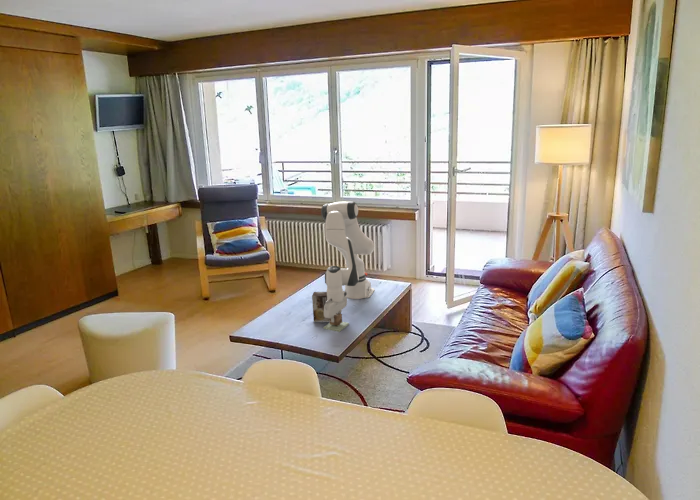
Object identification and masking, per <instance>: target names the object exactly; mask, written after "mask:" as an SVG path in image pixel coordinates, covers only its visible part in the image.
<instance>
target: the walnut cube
mask: <svg viewBox="0 0 700 500" xmlns="http://www.w3.org/2000/svg"><path fill="white" fill-rule="evenodd" d="M334 319H335V322H331V319H330V321H329V323H330V324H331V325H337V326H338V325H339V324H341V323H342V322H343V314H342V313H341V314H339V313H336V314H335V315H334Z"/></svg>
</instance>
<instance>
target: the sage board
mask: <svg viewBox="0 0 700 500" xmlns="http://www.w3.org/2000/svg"><path fill="white" fill-rule="evenodd" d="M349 325H350V322H347V321H342V323H341V324H339V325H338V326H337V325H331V324H330V322H327V324H326V325H324V326H323V330H326V331H333V332H337V333H339V332H341V331H343V330H344V329H345V328H347V327H348V326H349Z"/></svg>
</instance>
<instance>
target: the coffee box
mask: <svg viewBox="0 0 700 500" xmlns="http://www.w3.org/2000/svg"><path fill="white" fill-rule="evenodd" d="M311 301H312V316H313V322H314V323H330V318H325V317H324V305H325V304H326V302H327V301H328V300H327V291H313V293H312V295H311Z"/></svg>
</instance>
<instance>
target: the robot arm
mask: <svg viewBox="0 0 700 500" xmlns="http://www.w3.org/2000/svg"><path fill="white" fill-rule="evenodd" d="M320 215H321V218H322V219H323V220H324V221H325V224H324V226H325V227H324V228H325V229H324V231H325V232H324V234H325V235H324V236H325V240H326V242H327V243H328V244H329V245H330V246H332V247H334V248H336V249H337V251H338V252H339V253H341V255H342V257H343V258H344V260H345V264H346V267H344V268H343V267H340V266H338V265H331V266H329V267H328V268H327V267H326V268H327V269H326V271H325V273H324V284H325V285H326V292H327V300H328V301H327V302H326V304H325V305H324V317H325V318H330V319H331V322H335V319H334V315H335V314H336V313H339V314H342V311H343V309H345V308H346V307H347V305H348V299H353V300H359V299H360V300H361V299H367V298H370V297H371V296H372V294H374V292H375V288H374V287H372V284H371V282H370V280H368V279H367V278H366V277H367V276H368V272H365V262H364V261H363V259H362V258H360V257H359V255H361V256H367V255H371V254H372V253H374V250H375V242H374V241H373V239H371V238H369V237H368V235H366V234H365V233H364V232H363V230H362V229H361V227H360V224H359V222H358V218H357V217H358V215H359V207H358V204H357V203H356V202H355V201H352V200H351V201H350V200H349V201H335V202H331V203H329V202H328V203H324V204H323V205H322V206H321V210H320ZM343 286H344V289H343Z"/></svg>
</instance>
